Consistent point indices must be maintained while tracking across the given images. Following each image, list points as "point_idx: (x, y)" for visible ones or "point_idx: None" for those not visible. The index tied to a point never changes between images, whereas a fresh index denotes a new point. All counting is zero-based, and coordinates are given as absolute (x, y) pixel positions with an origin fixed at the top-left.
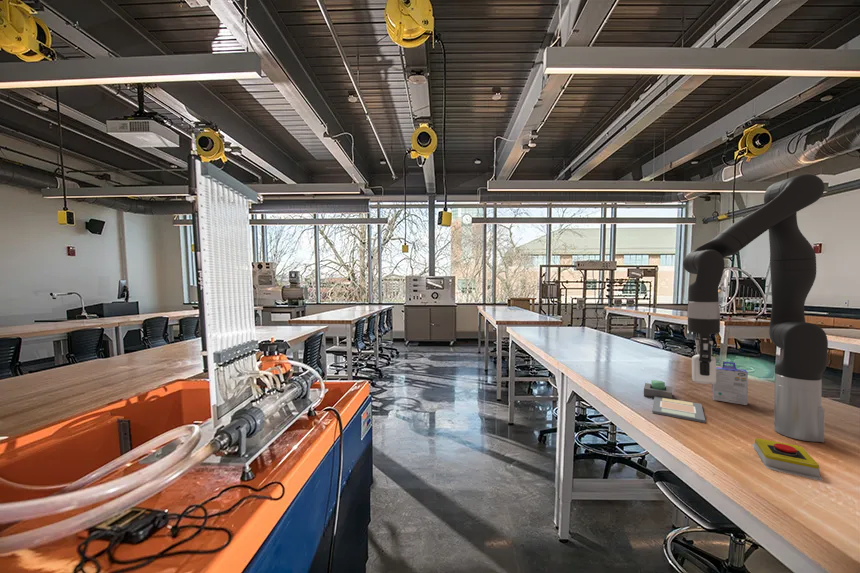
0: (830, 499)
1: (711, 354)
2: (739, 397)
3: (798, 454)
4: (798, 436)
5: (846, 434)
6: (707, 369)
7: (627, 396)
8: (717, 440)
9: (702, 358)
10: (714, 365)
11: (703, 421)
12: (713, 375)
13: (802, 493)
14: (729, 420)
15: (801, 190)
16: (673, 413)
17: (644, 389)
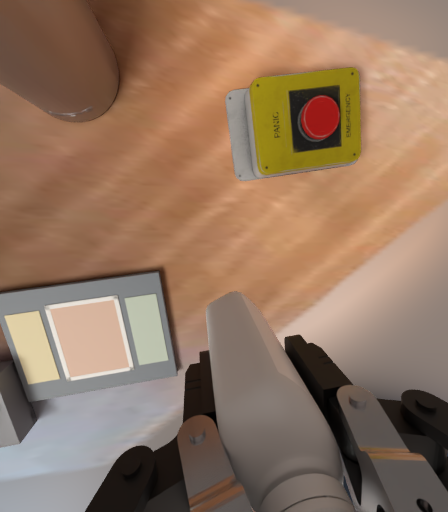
0: (424, 84)
1: (418, 455)
2: None
3: (314, 96)
4: (116, 70)
5: None
6: (331, 363)
7: (80, 445)
8: (265, 241)
9: (445, 459)
10: (273, 350)
11: (159, 275)
12: (260, 317)
13: (426, 122)
14: (83, 223)
15: None
16: (162, 336)
17: (21, 439)
